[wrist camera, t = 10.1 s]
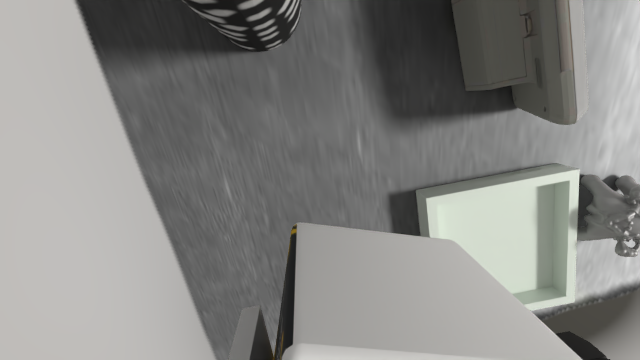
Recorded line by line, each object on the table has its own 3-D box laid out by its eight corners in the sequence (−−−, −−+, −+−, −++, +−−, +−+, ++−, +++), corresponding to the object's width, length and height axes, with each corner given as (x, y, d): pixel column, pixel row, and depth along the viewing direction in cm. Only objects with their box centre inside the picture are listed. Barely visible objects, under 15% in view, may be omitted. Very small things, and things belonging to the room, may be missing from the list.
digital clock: (530, 113, 33) (633, 120, 23) (447, 121, 33) (514, 132, 23) (545, -63, 29) (678, -151, 19) (450, -56, 29) (533, -142, 19)
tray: (415, 190, 35) (426, 198, 32) (556, 163, 35) (579, 169, 32) (428, 311, 39) (438, 328, 36) (554, 287, 39) (574, 302, 36)
